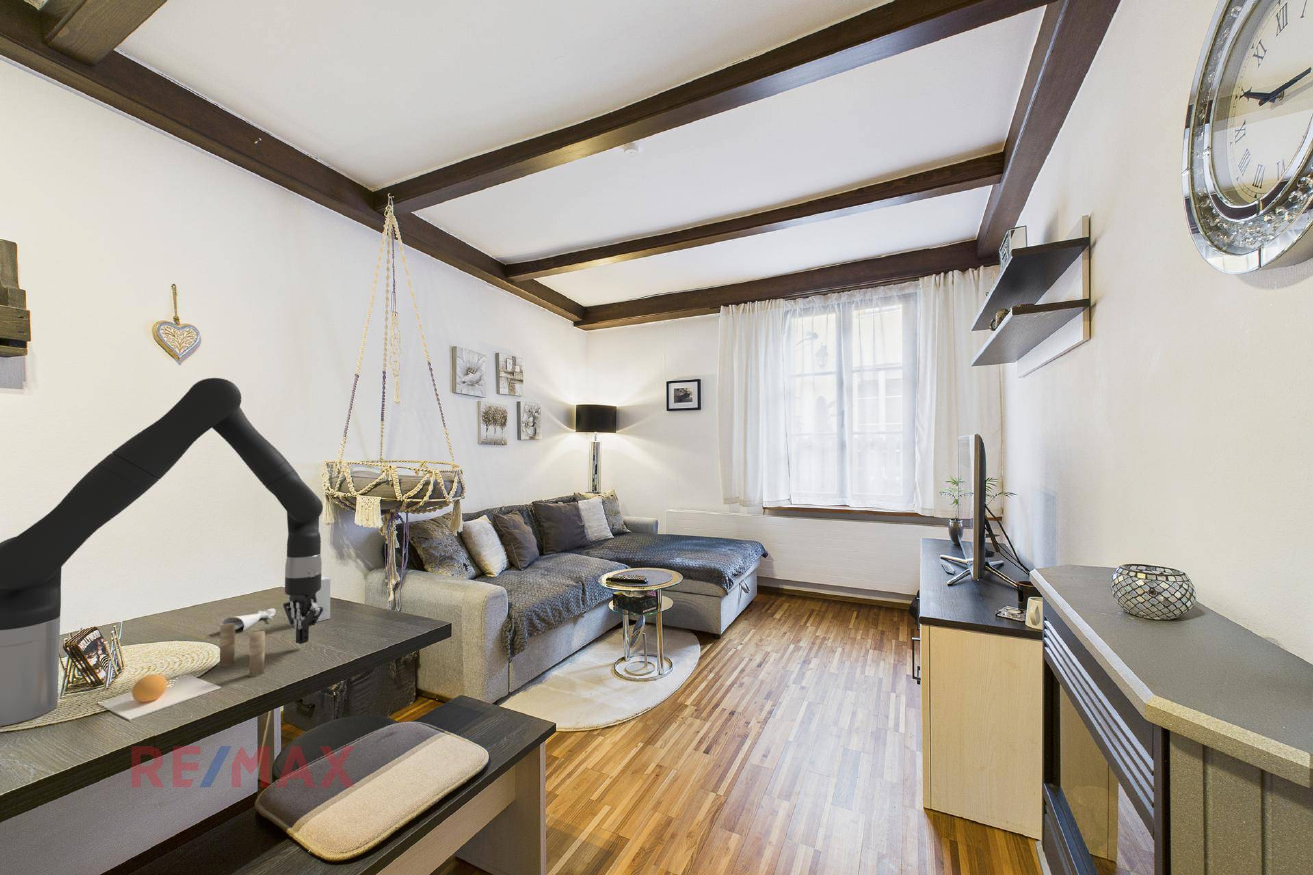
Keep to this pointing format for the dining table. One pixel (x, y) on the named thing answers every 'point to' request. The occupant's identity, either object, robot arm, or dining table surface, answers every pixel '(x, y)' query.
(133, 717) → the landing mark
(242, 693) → the dining table surface
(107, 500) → the robot arm
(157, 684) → the brown egg
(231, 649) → the left post
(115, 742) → the dining table surface
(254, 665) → the right post
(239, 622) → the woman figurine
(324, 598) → the skincare box
